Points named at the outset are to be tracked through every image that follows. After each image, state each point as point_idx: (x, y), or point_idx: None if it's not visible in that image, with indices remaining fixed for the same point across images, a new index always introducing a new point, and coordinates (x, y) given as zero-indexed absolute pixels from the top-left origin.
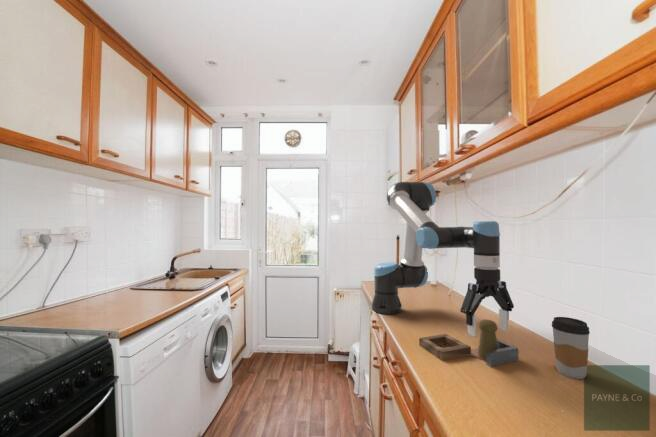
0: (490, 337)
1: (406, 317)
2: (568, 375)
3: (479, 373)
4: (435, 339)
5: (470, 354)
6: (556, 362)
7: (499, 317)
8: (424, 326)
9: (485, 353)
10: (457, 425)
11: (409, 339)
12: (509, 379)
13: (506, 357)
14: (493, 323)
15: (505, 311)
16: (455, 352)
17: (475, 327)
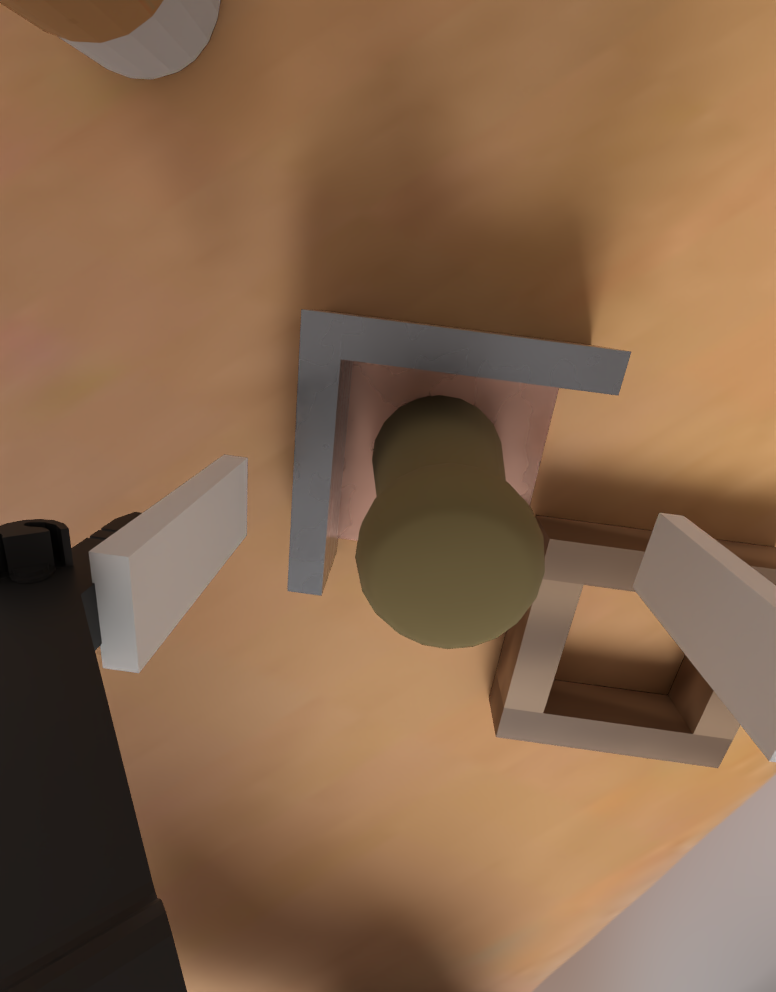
0: (486, 466)
1: (409, 961)
2: None
3: (750, 321)
4: (622, 717)
5: (539, 516)
6: (175, 30)
7: (197, 592)
8: (422, 859)
9: (501, 450)
10: None
11: (664, 794)
12: (662, 159)
13: (442, 326)
14: (454, 513)
15: (133, 566)
16: None
17: (723, 557)
